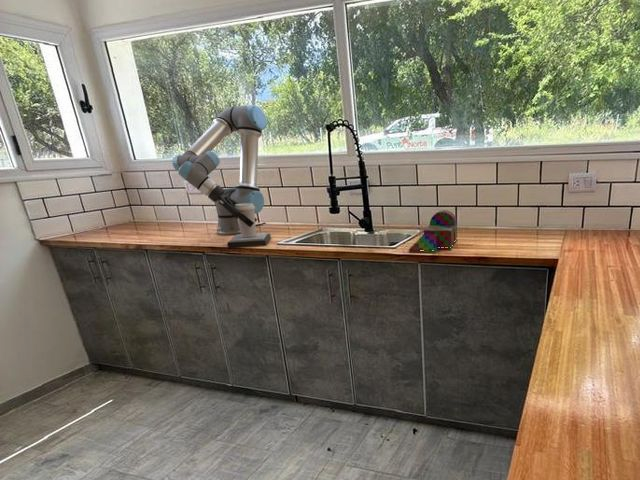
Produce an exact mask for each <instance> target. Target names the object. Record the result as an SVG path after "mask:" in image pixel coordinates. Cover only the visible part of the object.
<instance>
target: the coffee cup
mask: <svg viewBox="0 0 640 480" xmlns="http://www.w3.org/2000/svg"><path fill="white" fill-rule="evenodd" d="M235 208H236V209H237V210H238V211H239V212H240V213H241V214H244V215H245V216H246V217H247V218H249V219H250V220H251V221H252V222H254V224H253V225H252V226H251V227H249V226H248V225H247V224H245V223H244V222H243V221H241V220H240V219H239V217H238V223H239V227H240V231H241V233H240V234H241V235H242V237H254V236H256V233H257V229H256V227H257V226H255V225H256V222H255V218H256V214H255V210H254V209H255V206H254V205H253V203H241V204H235Z"/></svg>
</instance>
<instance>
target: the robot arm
mask: <svg viewBox="0 0 640 480" xmlns="http://www.w3.org/2000/svg"><path fill="white" fill-rule="evenodd" d="M267 119H268V118H267V116H266V113H265V111H264V109H262V108H261V106H258V105H256V104H247V105H233V106H230V107H228V108H226V109H224V110H223V111H222V112H221V113H219V114H218V115H217V116H216V117H215V118H214V119H213V121H212V124H211V126H209V127H208V129H206V131H204V133H202V135H201V136H199V138H197V139H196V140H195V142H193V144H191V145H190V147H188V149H186V151H184V153H182V154H180V155H176V156H174V157H173V158H172V161H171V163H172V167H173V169H175V171H177V173H178V175H179V176H180V177H181V178H182V179H184V181H185V182H188V183H189V184H190V185H191V186H192V187H194V188H195V189H197V190H198V191H199V192H200V194H201V195H204V196H205V197H207V198H208V199H209V200H210V201H212V202H213V203H214V205H215V209H216V214H217V226H216V233H217V235H221V236H231V235H237V234H241V231H240V227H239V223H238V217H239V219H240V220H241V221H243V222H244V223H245V224H247V225H248V226H249V227H251V226H252V225H253V224H254V222H252V221H251V220H250V219H249V218H247V217H246V216H245V215H244V214H241V213H240V212H239V211H238V210H237V209H236V208H235V204H241V203H253V205H254V206H255V209H254V210H255V215H256V214H259V213H260V212H262V211H263V208H264V207H265V197H264V195H263V193H262V192H261V189H260V187H259V186H258V163H259V161H258V160H259V159H258V157H259V139H260V138H261V137H262V134H263V133H262V132H263V131H264V130H265V129H266V128H267V126H268V120H267ZM235 132H237V133H238V134H239V135H240V139H239V140H240V142H239V143H240V144H239V145H240V146H239V147H240V148H239V175H238V176H239V178H238V184H236V185H235V187H230V188H223V187H222V186H221V185H218V183H217V182H216V181H215V180H214V179H212V178H211V177H209V175H210V174H211V173H212V172H213V171H214V170H216V169H217V168H218V166H219V165H220V163H221V161H220V160H221V159H220V158H219V156H218V154H216V153H215V152H214V151H213V150H214V149H215V148H216V147H217V146H218V144H220V143H221V141H223V140H224V138H226V137H228V136H230V135H231V134H232V133H235ZM256 221H258V218H256V217H255V223H256ZM266 224H267V223H266V222H263V223H259V224H255V226H256V227H258V226H262V225H266Z"/></svg>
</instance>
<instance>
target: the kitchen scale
mask: <svg viewBox="0 0 640 480" xmlns="http://www.w3.org/2000/svg"><path fill="white" fill-rule="evenodd" d="M271 236H272V235H271V233H269V232H258V233H257V232H256V236H254V237H242V235H241V233H240V234H234V236H233V237H232V238H231V239H230V240H229V241H228V242H226V243H227V244H226V245H227V248H228V249H232V248H233V249H234V248H235V249H236V248H247V247H248V248H249V247H264V246H265V247H266V246H267V245H268V244H269V242H270V241H271V239H272V237H271Z"/></svg>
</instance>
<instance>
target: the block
mask: <svg viewBox="0 0 640 480" xmlns="http://www.w3.org/2000/svg"><path fill="white" fill-rule="evenodd" d="M456 238H457V239H456ZM455 240H456V241H455ZM454 241H455V242H454ZM457 242H458V221H457V216H456V215H455V214H454V213H453V212H452V211H450V210H447V209H442V210H441V209H440V210H439V211H437V212H436V213H434V214H433V215H432V217H431V218H430V221H429V224H428V226H427V227H426V228H425V229H423V234H422V235H421V236H420V237H419V238H418V240H417V241H415V243H413V245H412V246H410V248H409V251H408V252H409V253H411V254H413V253H414V254H415V253H416V254H436V253H437V252H438V251H452V249H453V248H454V246H455V244H456V243H457ZM453 243H454V244H453ZM452 245H453V246H452ZM438 247H440V248H438ZM441 247H444V248H441ZM445 247H448V248H445ZM450 247H451V248H450ZM420 250H424V251H420ZM432 250H434V251H432Z"/></svg>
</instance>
